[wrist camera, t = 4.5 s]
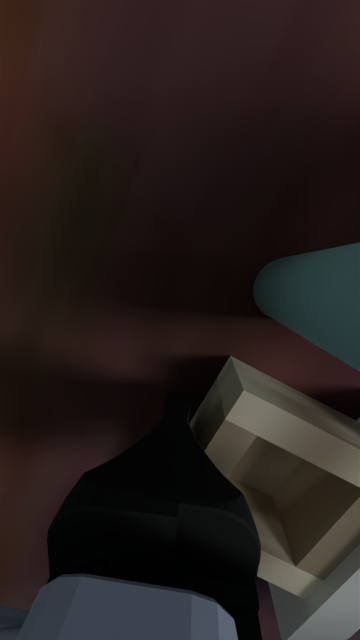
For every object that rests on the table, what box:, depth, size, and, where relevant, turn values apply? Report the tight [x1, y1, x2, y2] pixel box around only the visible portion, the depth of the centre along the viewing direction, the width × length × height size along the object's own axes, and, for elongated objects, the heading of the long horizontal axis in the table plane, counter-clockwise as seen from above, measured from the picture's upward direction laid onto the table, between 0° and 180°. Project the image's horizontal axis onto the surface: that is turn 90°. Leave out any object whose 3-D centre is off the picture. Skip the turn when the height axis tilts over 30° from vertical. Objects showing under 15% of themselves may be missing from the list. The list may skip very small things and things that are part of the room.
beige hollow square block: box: [189, 356, 360, 599], centre depth 11 cm, size 8×8×4 cm
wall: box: [268, 417, 360, 640], centre depth 11 cm, size 2×12×4 cm, turn 153°
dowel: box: [253, 243, 360, 372], centre depth 7 cm, size 3×3×8 cm
